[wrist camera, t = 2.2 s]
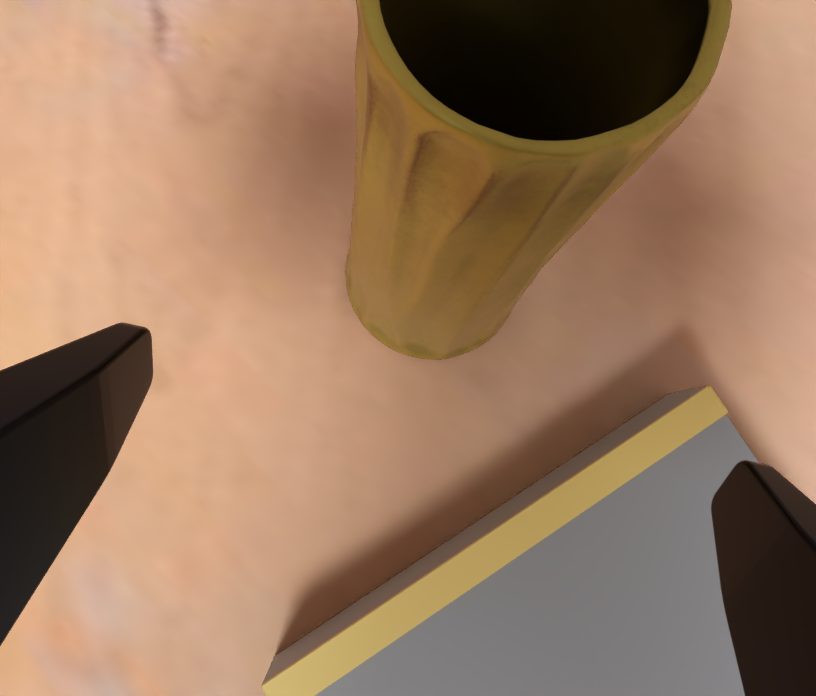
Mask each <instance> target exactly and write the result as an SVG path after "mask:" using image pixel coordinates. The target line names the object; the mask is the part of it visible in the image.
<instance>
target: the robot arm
mask: <svg viewBox="0 0 816 696" xmlns="http://www.w3.org/2000/svg"><path fill="white" fill-rule="evenodd" d="M152 378H153V358H152V337H151V333H150V331H149V330H148V329H147V328H145V327H141V326H137V325H132V324H128V323H118V324H115V325H112V326H110V327H107V328H105V329H102V330H100V331H97V332H95V333H92V334H90V335H88V336H85V337H83V338H80V339H78V340H75V341H73V342H70V343H68V344H65V345H63V346H60V347H58V348H55V349H53V350H50V351H48V352H45V353H43V354H40V355H38V356H35V357H33V358H30V359H28V360H25V361H23V362H21V363H18V364H16V365H13V366H11V367H8V368H6V369H3V370H1V371H0V646H1V644H2V642H3V641H4V639H5V638H6V636H7V635H8V633H9V631H10V630H11V628H12V627H13V625H14V623H15V622H16V620H17V619H18V617H19V616H20V614H21V612H22V611H23V609H24V608H25V606H26V604H27V603H28V601H29V600H30V598H31V596H32V595H33V593H34V592H35V590H36V589H37V587H38V585H39V584H40V582H41V581H42V579H43V577H44V576H45V574H46V573H47V571H48V569H49V568H50V566H51V565H52V563H53V562H54V560H55V558H56V557H57V555H58V554H59V552H60V550H61V549H62V547H63V546H64V544H65V542H66V541H67V539H68V538H69V536H70V535H71V533H72V531H73V530H74V528H75V527H76V525H77V523H78V522H79V520H80V519H81V517H82V515H83V514H84V512H85V511H86V509H87V508H88V506H89V504H90V503H91V501H92V500H93V498H94V496H95V495H96V493H97V492H98V490H99V488H100V487H101V485H102V484H103V482H104V480H105V478H106V477H107V475H108V473H109V472H110V470H111V468H112V466H113V464H114V462H115V460H116V458H117V456H118V454H119V451H120V449H121V447H122V445H123V443H124V441H125V439H126V437H127V435H128V432H129V430H130V428H131V426H132V424H133V422H134V420H135V418H136V415H137V413H138V411H139V409H140V407H141V405H142V403H143V401H144V399H145V396H146V394H147V392H148V390H149V388H150V385H151V382H152ZM711 515H712V522H713V530H714V538H715V546H716V554H717V562H718V570H719V578H720V586H721V592H722V599H723V604H724V609H725V614H726V618H727V623H728V627H729V631H730V635H731V639H732V644H733V648H734V652H735V656H736V660H737V665H738V669H739V673H740V677H741V681H742V685H743V690H744V694H745V696H816V504H815V503H814V502H812V501H811V500H810V499H809V498H808V497H807V496H805V495H804V494H803V493H802V492H801V491H800V490H798V489H797V488H796V487H795V486H794V485H793V484H791V483H790V482H789V481H788V480H787V479H786V478H785V477H783V476H782V475H781V474H780V473H779V472H778V471H776V470H775V469H774V468H773V467H771V466H769V465H766V464H762V463H758V462H753V461H748V460H743V461H740V462H739V463H737V464H736V465H735V466H734V468H733V469H732V470H731V472H730V473H729V475H728V476H727V477H726V479H725V480H724V482H723V483H722V484H721V486H720V487H719V489H718V490H717V491H716V493H715V494H714V497H713V499H712V503H711Z"/></svg>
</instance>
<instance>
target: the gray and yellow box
mask: <svg viewBox="0 0 816 696" xmlns="http://www.w3.org/2000/svg"><path fill="white" fill-rule="evenodd" d="M727 413H729V412H728V410H727V409H726V407H725V406H724V404H723V403H722V402H721V400H720V399H719V397H718V396H717V394H716V393H715V391H714V390H713V388H712V387H711V385H709V386H704V387H699V388H694V389H689V390H684V391H679V392H674V393H670V394H668V395H666V396H665V397H663V398H662V399H660V400H659V401H657V402H656V403H654V404H653V405H651V406H650V407H648V408H647V409H645V410H644V411H642V412H641V413H639V414H638V415H636V416H635V417H633V418H632V419H630V420H629V421H627V422H626V423H624V424H623V425H621V426H620V427H618V428H617V429H615V430H614V431H612V432H611V433H609V434H608V435H606V436H605V437H603V438H602V439H600V440H599V441H597V442H596V443H594V444H593V445H591V446H590V447H588V448H587V449H585V450H584V451H582V452H581V453H579V454H578V455H576V456H575V457H573V458H571V459H570V460H568V461H567V462H565V463H564V464H562V465H561V466H559V467H558V468H556V469H555V470H553V471H552V472H550V473H549V474H547V475H546V476H544V477H543V478H541V479H540V480H538V481H537V482H535V483H534V484H532V485H531V486H529V487H528V488H526V489H525V490H523V491H522V492H520V493H519V494H517V495H516V496H514V497H513V498H511V499H510V500H508V501H507V502H505V503H504V504H502V505H501V506H499V507H498V508H496V509H495V510H493V511H492V512H490V513H489V514H487V515H486V516H484V517H483V518H481V519H480V520H478V521H477V522H475V523H474V524H472V525H471V526H469V527H468V528H466V529H465V530H463V531H462V532H460V533H459V534H457V535H456V536H454V537H453V538H451V539H450V540H448V541H447V542H445V543H444V544H442V545H441V546H439V547H438V548H436V549H435V550H433V551H432V552H430V553H429V554H427V555H426V556H424V557H423V558H421V559H420V560H418V561H417V562H415V563H414V564H412V565H411V566H409V567H408V568H406V569H405V570H403V571H402V572H400V573H399V574H397V575H396V576H394V577H393V578H391V579H390V580H388V581H387V582H385V583H384V584H382V585H381V586H379V587H378V588H376V589H375V590H373V591H372V592H370V593H369V594H367V595H366V596H364V597H363V598H361V599H360V600H358V601H357V602H355V603H354V604H352V605H351V606H349V607H348V608H346V609H345V610H343V611H342V612H340V613H339V614H337V615H336V616H334V617H333V618H331V619H330V620H328V621H327V622H325V623H324V624H322V625H321V626H319V627H318V628H316V629H315V630H313V631H312V632H310V633H309V634H307V635H306V636H304V637H303V638H301V639H300V640H298V641H297V642H295V643H294V644H292V645H291V646H289V647H288V648H286V649H285V650H283V651H282V652H280V653H279V654H277V655H276V656H274V658H273V661H272V663H271V665H270V667H269V670H268V672H267V674H266V677H265V679H264V681H263V683H262V686H261V688H262V689H263V691H264V693H265V695H266V696H745V694H744V690H743V685H742V681H741V677H740V673H739V669H738V665H737V660H736V656H735V652H734V648H733V644H732V639H731V635H730V631H729V627H728V623H727V618H726V614H725V609H724V604H723V599H722V592H721V586H720V578H719V570H718V562H717V554H716V546H715V538H714V530H713V522H712V515H711V503H712V499H713V497H714V494H715V493H716V491H717V490H718V489H719V487H720V486H721V484H722V483H723V482H724V480H725V479H726V477H727V476H728V475H729V473H730V472H731V470H732V469H733V468H734V466H735V465H736V464H737V463H739V462H740V461H743V460H748V461H753V462H758V460H757V459H756V457H755V456H754V454H753V453H752V451H751V450H750V448H749V447H748V446H747V444H746V443H745V441H744V440H743V438H742V437H741V435H740V434H739V432H738V431H737V429H736V428H735V426H734V425H733V423H732V422H731V421H730V419H729V418H728V416H727V415H726V414H727ZM758 463H759V462H758Z"/></svg>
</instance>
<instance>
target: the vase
mask: <svg viewBox="0 0 816 696" xmlns="http://www.w3.org/2000/svg"><path fill="white" fill-rule="evenodd" d="M356 3H357V14H358V39H357V49H356V64H355V79H356V98H357V116H358V139H357V156H356V169H355V194H354V203H353V213H352V225H351V241H350V249H349V253H348V257H347V262H346V270H345V273H346V284H347V290H348V295H349V298H350V301H351V304H352V306H353V309H354V311H355V313H356V314H357V316H358V318H359V319H360V321H361V322H362V324H363V325H364V326H365V327H366V329H367V330H368V331H369V332H370V333H371V334H372V335H373V336H374V337H376V338H377V339H378V340H379V341H381V342H382V343H384V344H385V345H386V346H388V347H390V348H391V349H393V350H395V351H398V352H400V353H403V354H406V355H409V356H412V357H417V358H424V359H447V358H451V357H455V356H458V355H461V354H464V353H466V352H469V351H471V350H473V349H475V348H478V347H479V346H481V345H482V344H484V343H485V342H487V341H488V340H489V339H490V338H491V337H492V336H493V335H495V333H496V332H497V331H498V330H499V329H500V328H501V326H502V325H503V324H504V322H505V321H506V319H507V318H508V317H509V314H510V312H511V309H512V308H513V306H514V304H515V303H516V302H517V300H518V299H519V297H520V296H521V295H522V294H523V292H524V291H525V290H526V289H527V288H528V286H529V285H530V284H531V282H532V281H533V280H534V278H535V277H536V275H537V274H538V272H539V271H540V269H541V268H542V267H543V266H544V265H545V264H546V263H547V262H548V261H549V260H550V259H551V258H552V257H553V256H554V254H555V253H556V252H557V251H558V250H559V249H560V248H561V247H562V246H563V245H564V244H565V243H566V242H567V241H568V239H569V238H570V237H571V236H572V235H573V234H574V233H575V232H576V231H577V230H578V229H579V228H580V227H581V226H582V225H583V224H584V223H585V222H586V221H587V220H588V219H589V218H590V217H591V216H592V215H593V214H594V213H595V212H596V211H597V210H598V209H599V208H600V207H601V206H602V204H603V203H604V202H605V201H606V200H607V199H608V198H609V197H610V196H611V195H612V194H613V193H614V192H615V191H616V190H617V189H618V188H619V187H620V186H621V185H622V184H623V183H624V182H625V181H626V180H627V179H628V178H629V177H630V176H631V175H632V174H633V173H634V172H635V171H636V170H637V169H638V168H639V167H640V166H641V165H642V164H643V163H644V162H645V161H646V160H647V159H648V158H649V157H650V156H651V155H652V154H653V153H654V151H655V150H656V149H657V148H658V147H659V146H660V145H661V144H662V143H663V142H664V141H665V140H666V139H667V138H668V136H669V135H670V134H671V133H672V132H673V131H674V130H675V129H676V128H677V127H678V126H679V125H680V124H681V123H682V122H683V121H684V119H685V118H686V117H687V116H688V115H689V113H690V112H691V111H692V109H693V108H694V107H695V106H696V104H697V103H698V101H699V100H700V98H701V96H702V95H703V93H704V92H705V90H706V88H707V87H708V85H709V83H710V81H711V78H712V76H713V74H714V72H715V70H716V67H717V64H718V61H719V58H720V55H721V51H722V48H723V45H724V42H725V38H726V35H727V32H728V28H729V23H730V16H731V9H732V1H731V0H356Z"/></svg>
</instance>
